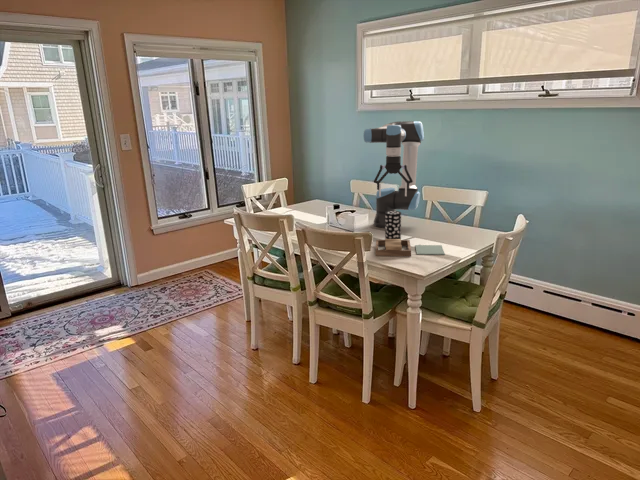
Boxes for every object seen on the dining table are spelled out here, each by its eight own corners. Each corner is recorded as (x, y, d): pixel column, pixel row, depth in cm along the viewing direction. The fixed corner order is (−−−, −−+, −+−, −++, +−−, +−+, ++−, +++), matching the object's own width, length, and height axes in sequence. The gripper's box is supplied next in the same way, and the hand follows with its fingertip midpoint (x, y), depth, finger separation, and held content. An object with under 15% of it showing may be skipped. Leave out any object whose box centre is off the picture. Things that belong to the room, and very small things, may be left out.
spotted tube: (402, 247, 241) (403, 211, 235) (397, 251, 234) (397, 215, 228) (388, 245, 245) (388, 210, 239) (382, 249, 238) (382, 213, 232)
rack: (376, 245, 247) (376, 239, 246) (409, 245, 244) (409, 240, 243) (375, 255, 230) (375, 250, 229) (411, 256, 227) (411, 250, 226)
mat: (415, 246, 242) (415, 245, 242) (441, 246, 240) (441, 245, 240) (416, 254, 229) (416, 253, 229) (444, 254, 227) (444, 253, 227)
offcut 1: (385, 243, 234) (385, 238, 233) (401, 243, 233) (401, 239, 232) (385, 246, 229) (385, 241, 229) (401, 246, 228) (401, 241, 227)
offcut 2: (385, 248, 234) (385, 243, 234) (400, 247, 234) (400, 243, 233) (386, 251, 230) (386, 246, 229) (401, 250, 229) (401, 246, 228)
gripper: (369, 156, 229) (369, 197, 235) (418, 155, 225) (417, 197, 231) (369, 155, 236) (369, 194, 242) (417, 154, 232) (416, 194, 238)
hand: (392, 196), depth 237 cm, fingers open, 13 cm apart
